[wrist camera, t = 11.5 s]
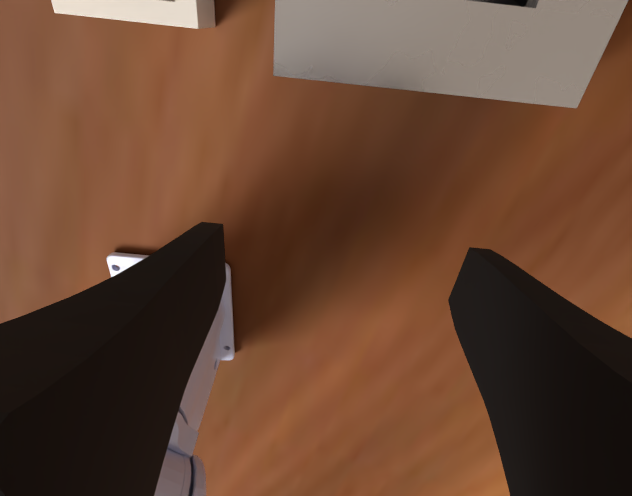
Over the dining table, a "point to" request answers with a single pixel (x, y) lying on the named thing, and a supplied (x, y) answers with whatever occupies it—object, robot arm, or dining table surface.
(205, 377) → the robot arm
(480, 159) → the dining table surface
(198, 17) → the holder
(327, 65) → the grey square frame block
